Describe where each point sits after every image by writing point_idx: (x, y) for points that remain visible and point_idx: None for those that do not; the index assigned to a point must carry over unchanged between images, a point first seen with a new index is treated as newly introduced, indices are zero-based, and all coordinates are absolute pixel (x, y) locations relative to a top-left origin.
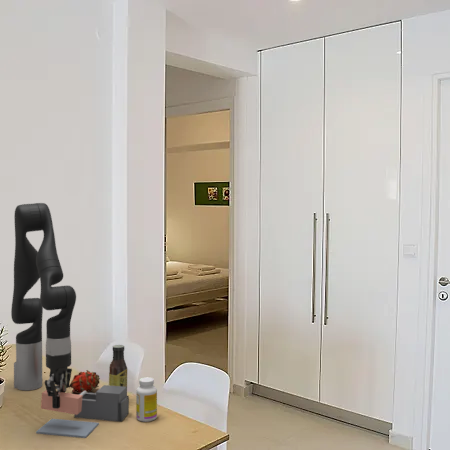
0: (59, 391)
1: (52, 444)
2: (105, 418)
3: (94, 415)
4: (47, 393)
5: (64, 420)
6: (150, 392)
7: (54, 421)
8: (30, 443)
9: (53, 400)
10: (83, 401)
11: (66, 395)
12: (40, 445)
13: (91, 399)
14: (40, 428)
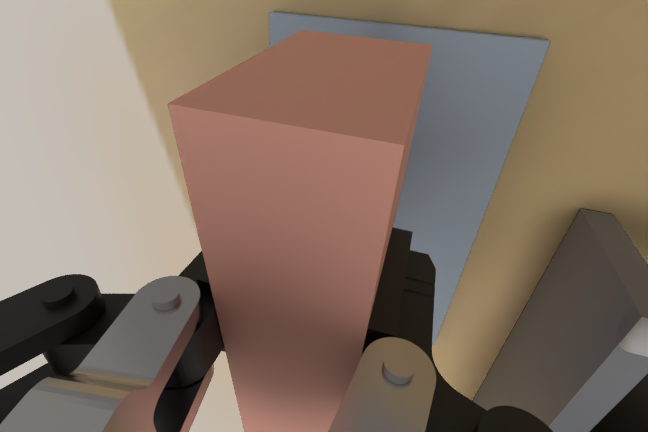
0: (169, 416)
1: (182, 170)
2: (496, 369)
3: (522, 337)
4: (205, 216)
5: (486, 165)
6: None
7: (469, 92)
8: (146, 42)
9: (200, 264)
10: (583, 369)
11: (269, 404)
12: (151, 113)
13: (592, 425)
14: (324, 24)
